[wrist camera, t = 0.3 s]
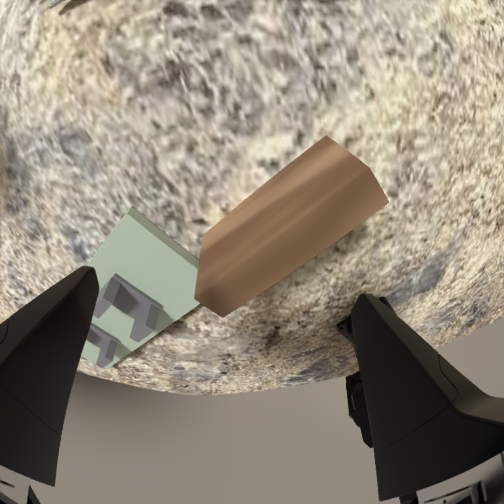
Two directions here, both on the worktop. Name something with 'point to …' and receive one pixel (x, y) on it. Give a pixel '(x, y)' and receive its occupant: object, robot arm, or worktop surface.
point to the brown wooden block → (285, 225)
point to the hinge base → (137, 288)
